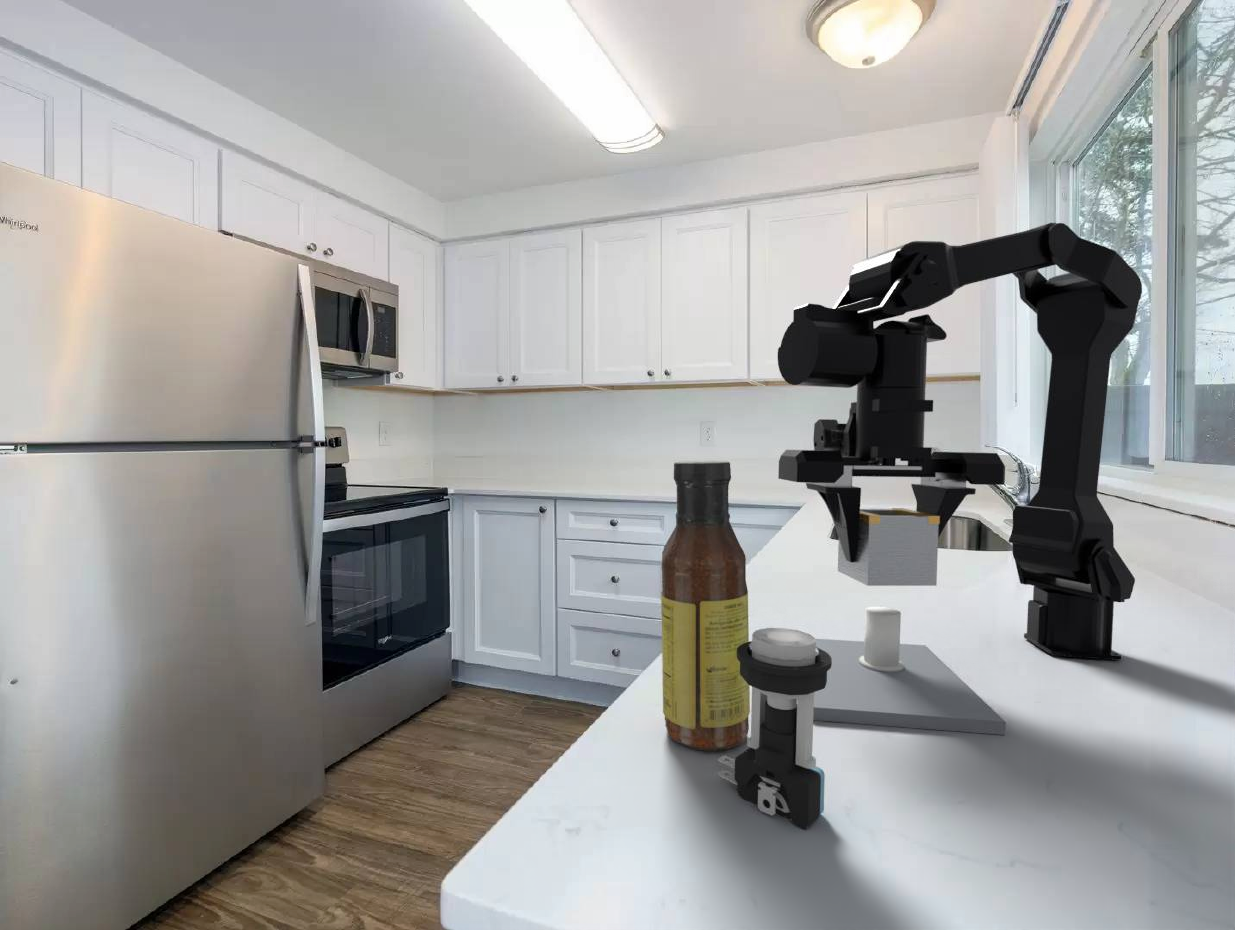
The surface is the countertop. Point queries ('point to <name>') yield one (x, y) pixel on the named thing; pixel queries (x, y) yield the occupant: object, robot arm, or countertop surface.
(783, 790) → the push button
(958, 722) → the panel
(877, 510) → the open cube shelf
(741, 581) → the sauce bottle
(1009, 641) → the countertop surface
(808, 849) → the countertop surface
